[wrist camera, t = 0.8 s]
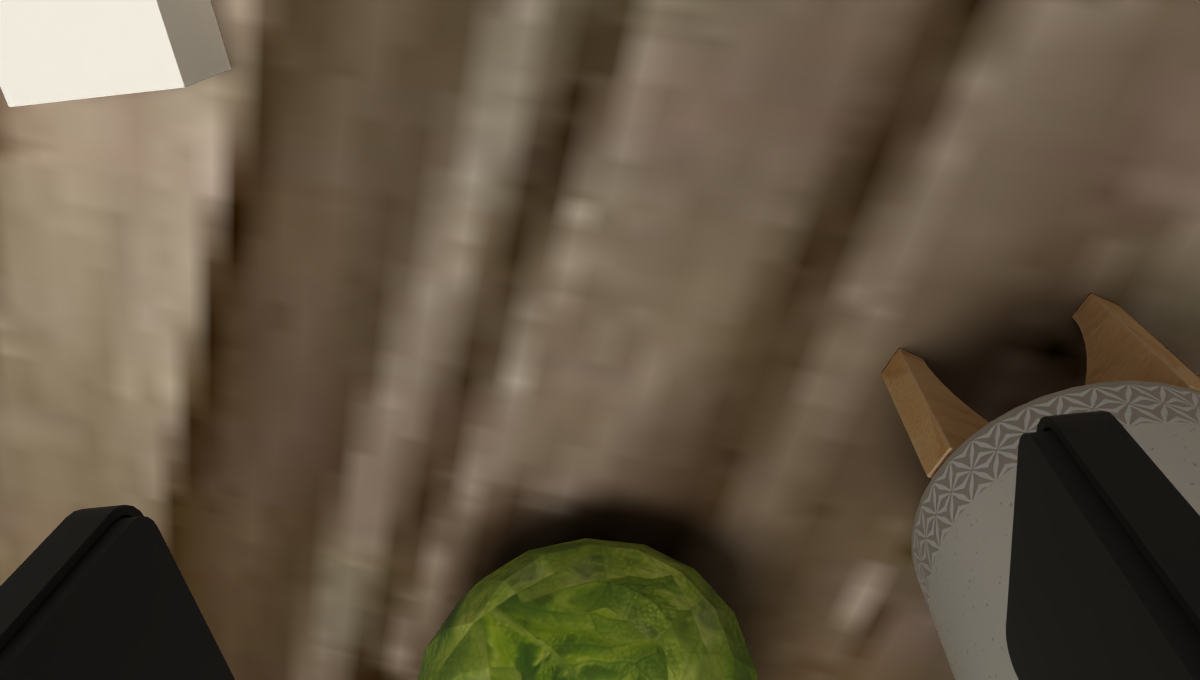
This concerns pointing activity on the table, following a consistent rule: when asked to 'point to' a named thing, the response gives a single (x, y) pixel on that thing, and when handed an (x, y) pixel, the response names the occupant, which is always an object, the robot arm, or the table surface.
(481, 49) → the table surface
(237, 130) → the table surface
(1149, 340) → the planter
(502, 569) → the green rounded lump
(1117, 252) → the table surface
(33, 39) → the base block
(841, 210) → the table surface
